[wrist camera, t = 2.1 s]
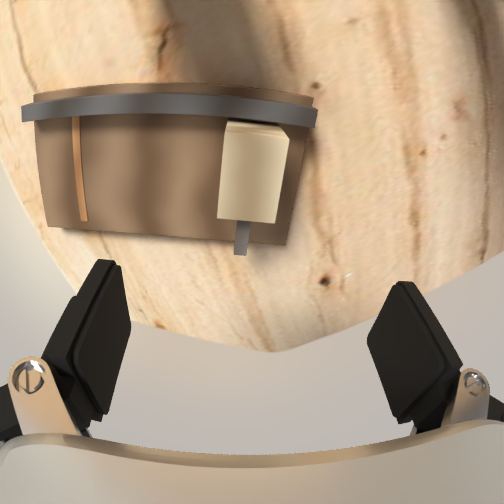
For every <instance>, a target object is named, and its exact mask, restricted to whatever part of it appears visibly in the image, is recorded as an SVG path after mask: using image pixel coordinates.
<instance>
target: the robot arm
mask: <svg viewBox="0 0 504 504" xmlns="http://www.w3.org/2000/svg"><path fill="white" fill-rule="evenodd" d="M130 332H131V321H130V316H129V311H128V306H127V300H126V295H125V289H124V283H123V277H122V270H121V267H120V266H119V265H116V262H115V261H114V260H105V259H98V260H97V261H96V263H95V264H94V266H93V268H92V269H91V271H90V273H89V274H88V276H87V278H86V280H85V281H84V283H83V285H82V287H81V288H80V290H79V292H78V294H77V296H74V297H72V298H71V300H70V301H69V303H68V305H67V307H66V309H65V310H64V313H63V314H62V316H61V318H60V320H59V322H58V324H57V326H56V328H55V330H54V332H53V334H52V336H51V338H50V340H49V342H48V344H47V346H46V348H45V350H44V352H43V354H42V357H41V358H37V357H26V358H23V359H21V360H19V361H18V362H16V363H15V364H14V365H13V366H12V368H11V370H10V372H9V375H8V384H6V385H4V386H2V387H0V504H504V403H502V402H500V401H499V400H497V399H496V398H494V397H492V396H490V387H489V384H488V381H487V379H486V378H485V376H484V375H483V374H482V373H481V372H479V371H478V370H475V369H472V368H467V369H465V370H463V371H462V372H460V370H459V369H460V368H461V367H462V365H463V363H462V361H461V360H460V358H459V356H458V354H457V352H456V350H455V349H454V347H453V345H452V344H451V342H450V340H449V338H448V337H447V335H446V333H445V331H444V330H443V328H442V326H441V325H440V323H439V321H438V320H437V318H436V317H435V315H434V313H433V312H432V310H431V308H430V307H429V305H428V304H427V302H426V300H425V299H424V297H423V296H422V294H421V293H420V291H419V290H418V288H417V287H416V285H415V284H414V283H413V282H408V281H398V282H397V283H396V285H393V286H392V288H391V290H390V292H389V294H388V296H387V299H386V301H385V303H384V305H383V307H382V309H381V311H380V313H379V315H378V317H377V319H376V321H375V323H374V325H373V327H372V329H371V330H370V332H369V334H368V337H367V345H368V347H369V350H370V353H371V355H372V358H373V361H374V363H375V366H376V369H377V372H378V374H379V377H380V380H381V383H382V386H383V388H384V391H385V394H386V397H387V400H388V402H389V406H390V409H391V411H392V414H393V416H394V417H396V418H397V421H398V424H402V423H407V422H410V421H411V420H413V422H414V426H413V428H412V431H411V433H410V436H407V437H403V438H399V439H394V440H390V441H385V442H380V443H374V444H369V445H363V446H357V447H351V448H344V449H336V450H328V451H319V452H308V453H295V454H277V455H222V454H221V455H220V454H204V453H191V452H180V451H171V450H163V449H155V448H147V447H140V446H134V445H128V444H122V443H117V442H112V441H106V440H101V439H95V438H93V437H92V435H91V434H90V432H89V430H88V427H89V426H90V422H91V420H95V421H99V422H101V421H102V417H103V414H105V415H107V414H108V412H109V408H110V404H111V400H112V396H113V393H114V389H115V385H116V381H117V377H118V374H119V370H120V367H121V363H122V360H123V356H124V353H125V349H126V346H127V342H128V339H129V336H130Z"/></svg>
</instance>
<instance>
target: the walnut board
mask: <svg viewBox="0 0 504 504" xmlns="http://www.w3.org/2000/svg"><path fill="white" fill-rule="evenodd" d="M312 104H313V98H312V97H309V96H305V95H299V94H293V93H287V92H280V91H273V90H266V89H258V88H250V87H240V86H229V85H216V84H199V83H126V84H109V85H97V86H87V87H77V88H69V89H62V90H55V91H49V92H43V93H39V94H35V95H34V103H30V104H27V105H24V106H21V109H22V122H27V121H34V127H35V142H36V153H37V163H38V171H39V179H40V186H41V192H42V198H43V204H44V210H45V215H46V220H47V225H48V227H59V228H73V229H87V230H100V231H114V232H127V233H140V234H153V235H166V236H178V237H191V238H203V239H215V240H227V241H235V233H236V224H237V220H231V219H219V218H217V212H218V200H219V188H220V177H221V166H222V155H223V145H224V135H225V129H226V125H227V121H228V118H231V119H241V120H251V121H259V122H268V123H275V124H279V126H280V127H281V128H282V130H283V131H284V133H285V134H286V135H287V137H288V138H289V145H288V151H287V157H286V163H285V169H284V174H283V180H282V186H281V192H280V197H279V203H278V208H277V214H276V220H275V223H264V222H253V221H251V224H250V232H249V239H248V242H251V243H262V244H274V245H285V244H286V239H287V234H288V230H289V225H290V220H291V215H292V210H293V205H294V200H295V195H296V190H297V185H298V180H299V175H300V170H301V164H302V159H303V154H304V148H305V143H306V137H307V132H308V127H310V128H315V123H316V118H317V112H318V109H316V108H314V107H312Z"/></svg>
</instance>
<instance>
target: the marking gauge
mask: <svg viewBox="0 0 504 504" xmlns="http://www.w3.org/2000/svg"><path fill="white" fill-rule="evenodd" d="M288 145H289V138H288V137H287V135H286V134H285V133H284V131H283V130H282V128H281V127H280V126H279V124H275V123H268V122H259V121H251V120H241V119H231V118H228V121H227V125H226V129H225V135H224V145H223V155H222V166H221V177H220V188H219V200H218V212H217V218H219V219H231V220H237V224H236V233H235V242H234V255H244V256H246V253H247V246H248V239H249V232H250V224H251V221H253V222H264V223H275V220H276V214H277V208H278V203H279V197H280V192H281V186H282V180H283V174H284V169H285V163H286V157H287V151H288Z"/></svg>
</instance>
